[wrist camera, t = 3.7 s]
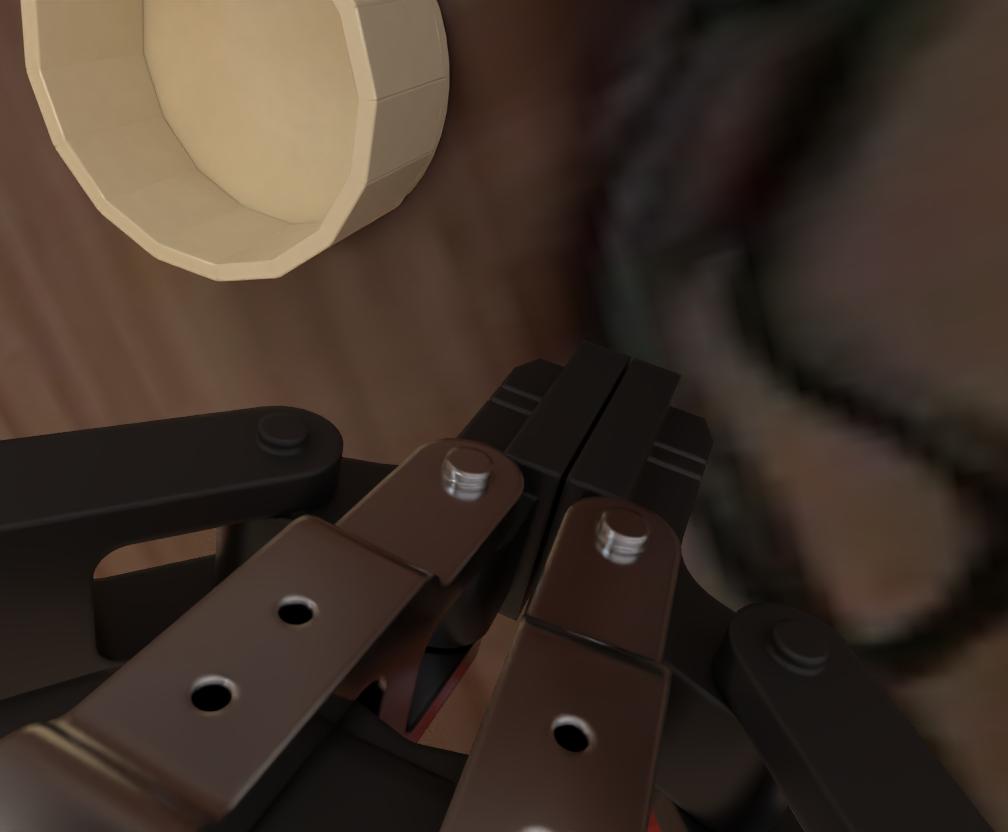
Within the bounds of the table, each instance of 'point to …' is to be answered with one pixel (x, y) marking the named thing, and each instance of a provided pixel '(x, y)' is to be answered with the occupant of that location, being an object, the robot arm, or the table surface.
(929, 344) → the table surface
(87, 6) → the beige round bowl
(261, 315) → the table surface
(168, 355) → the table surface
